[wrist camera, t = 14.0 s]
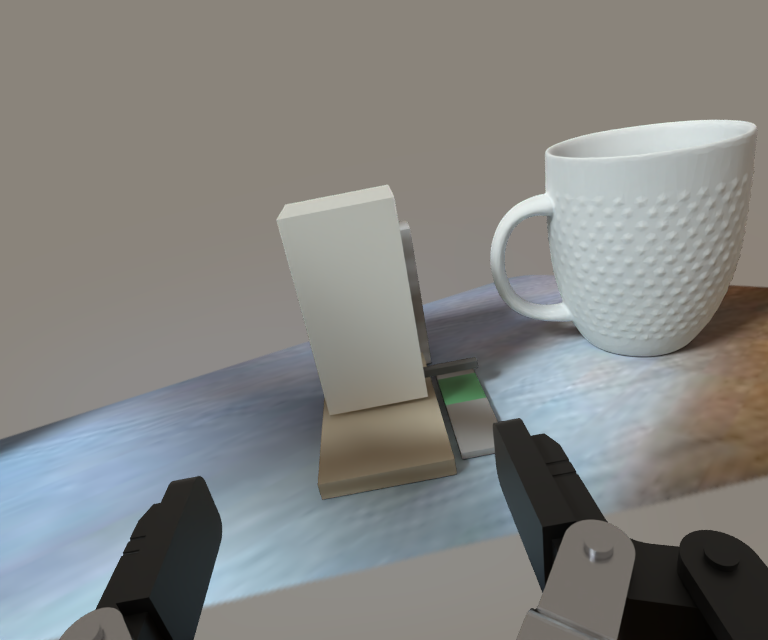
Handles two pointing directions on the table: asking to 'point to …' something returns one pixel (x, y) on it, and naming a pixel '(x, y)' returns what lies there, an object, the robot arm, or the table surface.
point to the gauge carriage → (357, 299)
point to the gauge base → (405, 425)
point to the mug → (640, 231)
